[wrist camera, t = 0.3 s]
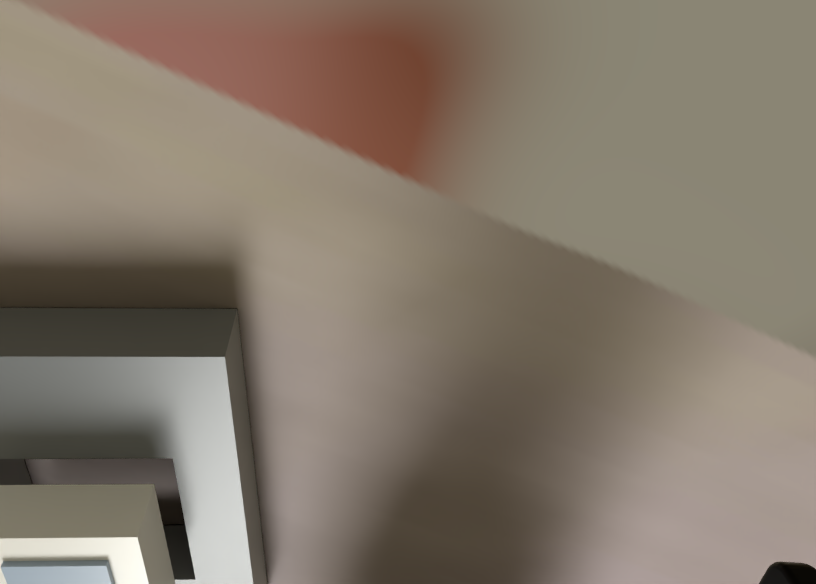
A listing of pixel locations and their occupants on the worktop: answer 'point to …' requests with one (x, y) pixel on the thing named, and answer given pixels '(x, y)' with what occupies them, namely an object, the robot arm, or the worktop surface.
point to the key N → (82, 535)
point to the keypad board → (142, 416)
